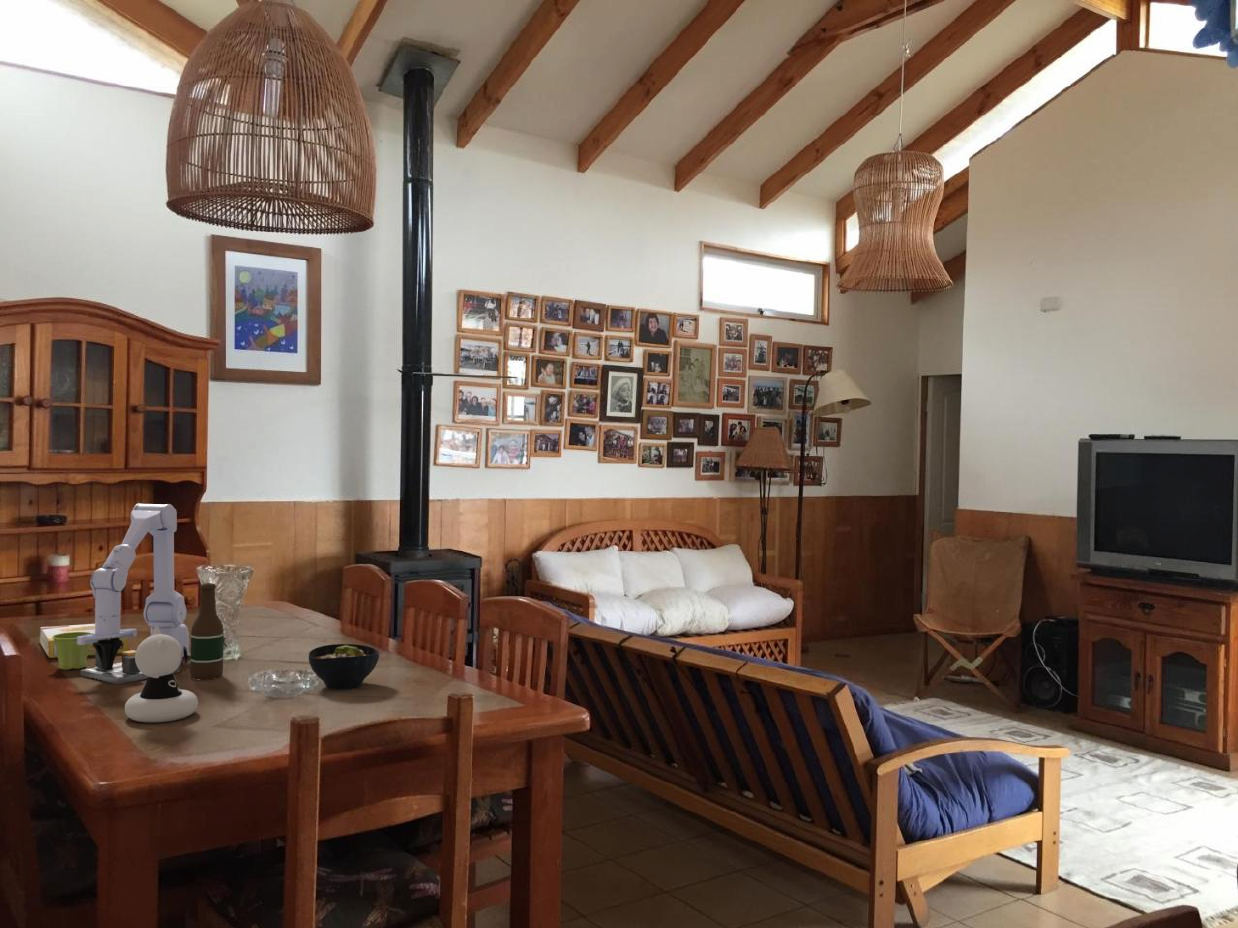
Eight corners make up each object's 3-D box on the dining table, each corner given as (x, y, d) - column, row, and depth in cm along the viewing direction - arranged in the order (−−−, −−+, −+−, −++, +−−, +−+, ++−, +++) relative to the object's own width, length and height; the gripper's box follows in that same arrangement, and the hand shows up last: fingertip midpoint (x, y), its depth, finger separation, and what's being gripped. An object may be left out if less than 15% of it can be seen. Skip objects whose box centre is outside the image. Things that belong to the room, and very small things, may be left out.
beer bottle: (229, 675, 258) (231, 582, 257) (208, 681, 250) (209, 586, 250) (205, 672, 260) (206, 581, 260) (183, 678, 253) (184, 584, 253)
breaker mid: (132, 665, 259) (133, 650, 259) (139, 666, 257) (139, 651, 257) (121, 667, 256) (122, 651, 256) (128, 668, 255) (128, 653, 254)
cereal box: (49, 640, 272) (38, 624, 295) (48, 660, 272) (37, 643, 295) (130, 635, 284) (114, 620, 307) (129, 654, 284) (113, 638, 307)
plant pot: (74, 672, 257) (75, 639, 257) (43, 670, 259) (43, 636, 259) (100, 665, 266) (101, 632, 266) (70, 662, 268) (70, 630, 268)
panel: (142, 664, 268) (143, 643, 268) (179, 672, 260) (179, 650, 260) (80, 675, 254) (81, 653, 254) (117, 684, 245) (117, 660, 245)
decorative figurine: (203, 719, 215) (205, 627, 215) (129, 728, 207) (130, 633, 207) (191, 704, 227) (192, 617, 227) (120, 712, 220) (122, 622, 219)
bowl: (315, 696, 237) (315, 654, 237) (302, 681, 252) (303, 642, 252) (386, 690, 245) (386, 649, 245) (369, 675, 260) (370, 637, 260)
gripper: (88, 620, 243) (87, 676, 243) (144, 613, 255) (143, 666, 255) (72, 617, 247) (71, 672, 247) (128, 610, 259) (127, 662, 259)
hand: (107, 669), depth 251 cm, fingers closed
